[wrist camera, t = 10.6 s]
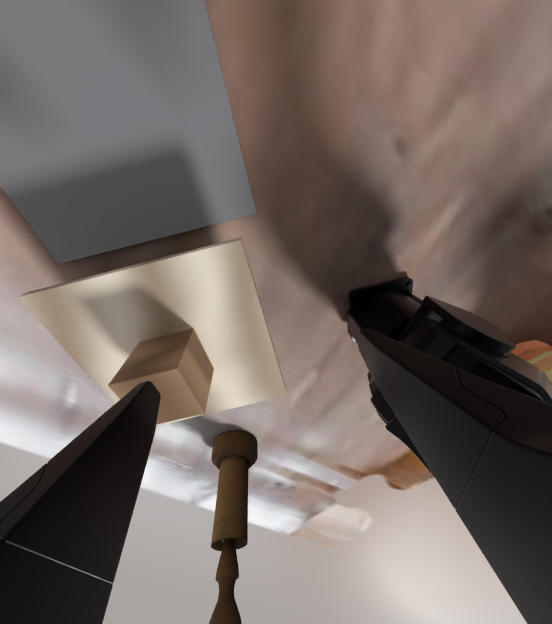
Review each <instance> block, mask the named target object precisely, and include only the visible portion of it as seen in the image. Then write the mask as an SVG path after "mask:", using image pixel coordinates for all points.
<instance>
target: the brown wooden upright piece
mask: <svg viewBox="0 0 552 624" xmlns="http://www.w3.org/2000/svg"><path fill="white" fill-rule="evenodd" d="M256 460H257V440H256V438H255V437H254V436H253V435H252V434H250V433H247V432H242V431H231V432H226V433H223V434H221V435H219V436H218V437H217V438H216V439H215V441H214V443H213V451H212V462H213V464H214V465H215V466H216V467H217V468H218V469H219V470H220V472H219V482H218V491H217V500H216V509H215V518H214V526H213V535H212V543H211V547H212V548H213V549H214V550H217V551H222V553H221V556H220V560H219V564H218V569H217V574H216V581H217V582H218V583H219V597H218V601H217V604H216V607H215V609H214V612H213V614H212V617H211V619H210V622H209V624H241V618H240V614H239V611H238V608H237V605H236V602H235V598H234V585H235V581H236V579H238V577H239V572H238V562H237V555H236V549H240V548H242V547H244V546H246V545H247V518H248V469H249V468H250V467H251V466H252V465H253V464H254V463H255V462H256Z"/></svg>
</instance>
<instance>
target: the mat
mask: <svg viewBox="0 0 552 624" xmlns="http://www.w3.org/2000/svg"><path fill="white" fill-rule="evenodd" d="M0 187H1V188H2V189H3V191H4V192H5V193H6V195H7V196H8V198H9V199H10V200H11V202H12V203H13V204H14V206H15V207H16V208H17V210H18V211H19V212H20V214H21V215H22V216H23V218H24V219H25V220H26V222H27V223H28V224H29V226H30V227H31V228H32V230H33V231H34V232H35V234H36V235H37V236H38V238H39V239H40V241H41V242H42V243H43V245H44V246H45V247H46V249H47V250H48V251H49V253H50V254H51V255H52V257H53V258H54V259H55V261H56V262H57V263H58V264H61V263H65V262H69V261H73V260H77V259H81V258H84V257H88V256H92V255H96V254H100V253H104V252H108V251H112V250H116V249H120V248H124V247H128V246H132V245H135V244H139V243H143V242H147V241H151V240H155V239H159V238H163V237H167V236H171V235H175V234H179V233H182V232H186V231H190V230H194V229H198V228H202V227H206V226H210V225H214V224H218V223H222V222H226V221H230V220H233V219H237V218H241V217H245V216H249V215H253V214H257V212H256V208H255V204H254V200H253V196H252V192H251V188H250V184H249V180H248V176H247V171H246V167H245V163H244V159H243V155H242V151H241V147H240V143H239V139H238V135H237V131H236V127H235V122H234V118H233V114H232V110H231V106H230V102H229V98H228V94H227V90H226V86H225V82H224V78H223V73H222V69H221V65H220V61H219V57H218V53H217V49H216V45H215V41H214V37H213V33H212V28H211V24H210V20H209V16H208V12H207V8H206V4H205V0H0Z"/></svg>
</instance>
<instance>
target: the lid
mask: <svg viewBox="0 0 552 624" xmlns="http://www.w3.org/2000/svg"><path fill="white" fill-rule="evenodd" d="M17 298H18V299H19V300H20V301H21V302H22V304H23V305H24V306H25V307H26V308H27V309H28V310H29V311H30V312H31V313H32V314H33V315H34V317H35V318H36V319H37V320H38V321H39V322H40V323H41V324H42V325H43V326H44V327H45V329H46V330H47V331H48V332H49V333H50V334H51V335H52V336H53V337H54V338H55V339H56V340H57V342H58V343H59V344H60V345H61V346H62V347H63V348H64V349H65V350H66V351H67V352H68V354H69V355H70V356H71V357H72V358H73V359H74V360H75V361H76V362H77V363H78V364H79V365H80V367H81V368H82V369H83V370H84V371H85V372H86V373H87V374H88V375H89V376H90V377H91V379H92V380H93V381H94V382H95V383H96V384H97V385H98V386H99V387H100V388H101V389H102V390H103V392H104V393H105V394H106V395H107V396H108V397H109V398H110V399H111V400H112V401H113V402H114V404H116V403H117V402H118V401H119V400H120V399H121V398H123V397H124V396H125V395H126V394H127V393H128V392H130V391H131V390H132V389H133V388H134V387H135V386H137V385H138V384H139V383H141V382H145V381H151V382H152V383H153V384H154V385H155V387H156V388H157V390H158V391H159V392H160V395H161V400H160V406H159V412H158V418H157V423H156V426H160V425H164V424H168V423H173V422H177V421H181V420H185V419H189V418H194V417H198V416H202V415H206V414H211V413H215V412H219V411H223V410H227V409H232V408H236V407H240V406H244V405H248V404H253V403H257V402H261V401H265V400H269V399H274V398H278V397H282V396H286V395H287V391H286V386H285V383H284V380H283V376H282V373H281V369H280V366H279V363H278V359H277V356H276V353H275V349H274V346H273V342H272V339H271V336H270V332H269V329H268V326H267V322H266V319H265V315H264V312H263V309H262V305H261V302H260V299H259V295H258V292H257V288H256V285H255V282H254V278H253V275H252V272H251V268H250V265H249V261H248V258H247V255H246V251H245V248H244V244H243V241H242V238H241V237H240V238H237V239H233V240H229V241H225V242H221V243H217V244H213V245H209V246H205V247H202V248H198V249H194V250H190V251H186V252H182V253H178V254H174V255H170V256H167V257H163V258H159V259H155V260H151V261H147V262H143V263H139V264H136V265H132V266H128V267H124V268H120V269H116V270H112V271H108V272H104V273H101V274H97V275H93V276H89V277H85V278H81V279H77V280H73V281H69V282H66V283H62V284H58V285H54V286H50V287H46V288H42V289H38V290H34V291H31V292H27V293H25V294H23V295H21V296H19V297H17Z"/></svg>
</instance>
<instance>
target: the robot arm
mask: <svg viewBox="0 0 552 624" xmlns="http://www.w3.org/2000/svg"><path fill="white" fill-rule="evenodd" d="M407 281H408V283H407V284H406V282H407ZM412 286H413V280H412V279H410V278H408V277H405V278H401V279H397V280H393V281H389V282H385V283H381V284H377V285H373V286H369V287H365V288H360V289H356V290H353V291H351V292H350V293H349V307H350V310H349V311H348V312H347V314H348V329H349V332H350V333H351V338H352V340H353V341H354V342H357V343H358V347H359V351H360V353H361V355H362V357H363V359H364V361H365V363H366V365H367V367H368V369H369V373H368V374H367V375H368V379H369V383H370V384H369V387H370V390H371V393H372V397H371V402H372V404H373V405H374V407H375V409H376V411H377V412H378V414H379V416H380V417H381V418H382V420H383V421H384V422H385V423H386V424H387V425H386V429H387V430H388V431H390V432H391V433H392V434H394V435H395V436H396V437H398V438H399V439H400V440H401V441H403V442H404V443H405V444H406V445H407V446H408V447H409V448H410V449H411V450H412V451H413V452H414V453H415V454H416V455H417V457H418V458H419V459H420V460H421V461H422V462H423V464H424V465H425V466H426V467H427V468H428V470H429V471H430V472H431V473H432V474H433V476H434V477H435V478H436V480H437V481H438V483H439V484H440V486H441V488H442V489H443V491H444V492H445V494H446V496H447V497H448V498H449V500H450V502H451V503H452V505H453V507H454V508H455V509H456V512H457V513H458V515H459V516H460V518H461V520H462V521H463V523H464V524H465V526H466V527H467V529H468V531H469V532H470V534H471V535H472V537H473V539H474V540H475V542H476V543H477V545H478V546H479V548H480V550H481V551H482V553H483V554H484V556H485V558H486V559H487V561H488V562H489V564H490V565H491V567H492V569H493V570H494V572H495V573H496V575H497V576H498V578H499V580H500V581H501V583H502V584H503V586H504V587H505V589H506V591H507V592H508V594H509V595H510V597H511V598H512V600H513V602H514V603H515V605H516V606H517V608H518V610H519V611H520V613H521V614H522V616H523V618H524V619H525V621H526V622H527V624H552V383H551V381H550V380H549V378H548V377H547V376H546V374H545V373H544V372H543V371H542V370H540V369H539V368H537V367H535V366H534V365H532V364H530V363H528V362H527V361H525V360H523V359H522V358H520V357H518V356H516V355H515V354H513V353H511V352H512V351H513V350H514V349H515V348H516V345H515V344H514V343H513V342H512V341H511V340H510V339H509V338H508V337H507V336H506V335H505V334H504V333H503V332H502V331H501V330H500V329H499V328H498V327H497V326H495V325H493V324H491V323H490V322H488V321H486V320H484V319H482V318H480V317H478V316H476V315H474V314H472V313H470V312H468V311H466V310H463V309H461V308H458V307H456V306H453V305H450V304H448V303H445V302H442V301H440V300H437V299H435V298H432V297H429V296H426V297H425V298H424V299H423V301H422V300H420V299H419V298H417V297H416V296H414V295H413V294H412ZM354 294H356V295H355V296H354V297H353V295H354ZM160 400H161V395H160V392H159V391H158V390H157V388H156V387H155V385H154V384H153V383H152V382H151V381H145V382H141V383H139V384H138V385H137V386H135V387H134V388H133V389H132V390H131V391H130V392H128V393H127V394H126V395H125V396H124V397H123V398H121V399H120V400H119V401H118V402H117V403H116V404H115V405H113V406H112V407H111V408H110V409H109V410H108V411H106V412H105V413H104V414H103V415H102V416H101V417H99V418H98V419H97V420H96V421H95V422H94V423H92V424H91V425H90V426H89V427H88V428H87V429H85V430H84V431H83V432H82V433H81V434H80V435H79V436H77V437H76V438H75V439H74V440H73V441H72V442H70V443H69V444H68V445H67V446H66V447H65V448H63V449H62V450H61V451H60V452H59V453H58V454H56V455H55V456H54V457H53V458H52V459H51V460H50V461H48V463H47V464H45V465H44V466H42V467H41V468H40V469H39V470H38V471H37V472H36V473H34V474H33V475H32V476H31V477H30V478H28V479H27V480H26V481H25V482H24V483H23V484H21V485H20V486H19V487H18V488H17V489H15V490H14V491H13V492H12V493H11V494H9V495H8V496H7V497H6V498H4V499H3V500H2V501H1V502H0V624H102V622H103V619H104V615H105V611H106V608H107V604H108V601H109V597H110V593H111V590H112V583H113V582H114V578H115V575H116V571H117V568H118V564H119V561H120V557H121V553H122V549H123V546H124V543H125V538H126V535H127V532H128V528H129V524H130V521H131V517H132V514H133V510H134V506H135V503H136V499H137V496H138V492H139V489H140V485H141V481H142V478H143V474H144V470H145V467H146V463H147V460H148V456H149V452H150V449H151V445H152V442H153V438H154V434H155V429H156V423H157V418H158V412H159V406H160Z"/></svg>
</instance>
